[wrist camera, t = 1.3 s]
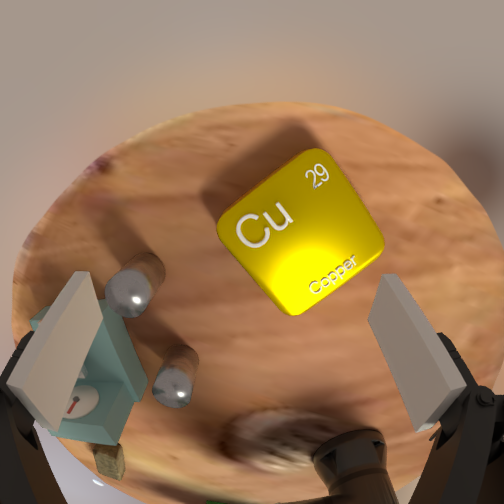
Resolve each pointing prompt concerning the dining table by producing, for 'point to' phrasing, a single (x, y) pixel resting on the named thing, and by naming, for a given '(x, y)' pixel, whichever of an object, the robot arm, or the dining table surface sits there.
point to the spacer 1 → (135, 285)
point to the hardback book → (211, 503)
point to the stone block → (109, 460)
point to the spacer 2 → (176, 377)
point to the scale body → (103, 384)
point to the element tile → (301, 232)
